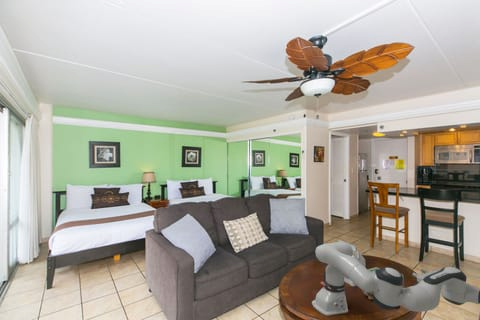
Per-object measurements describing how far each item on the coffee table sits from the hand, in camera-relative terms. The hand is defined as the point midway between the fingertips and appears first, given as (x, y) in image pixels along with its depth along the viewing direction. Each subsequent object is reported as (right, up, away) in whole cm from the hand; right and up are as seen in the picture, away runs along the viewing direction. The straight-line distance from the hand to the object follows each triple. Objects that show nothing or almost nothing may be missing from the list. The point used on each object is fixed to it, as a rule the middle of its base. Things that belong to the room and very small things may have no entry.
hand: (417, 272), depth 144 cm
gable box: (-31, -20, +30) cm, 48 cm away
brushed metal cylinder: (-5, -19, +11) cm, 23 cm away
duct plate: (-6, -20, +32) cm, 38 cm away
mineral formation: (-25, -20, +4) cm, 32 cm away
